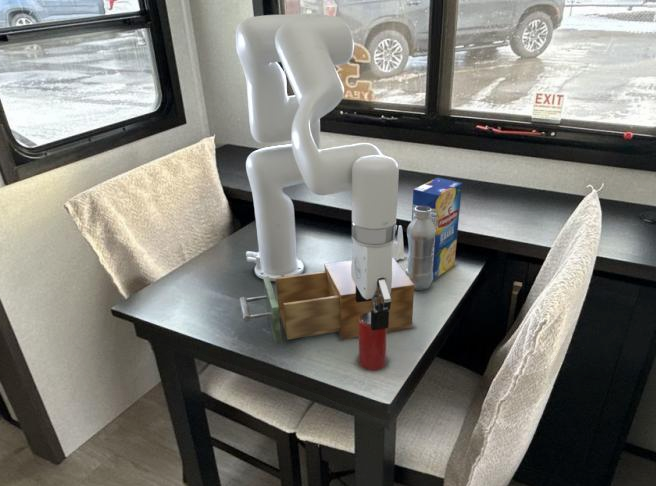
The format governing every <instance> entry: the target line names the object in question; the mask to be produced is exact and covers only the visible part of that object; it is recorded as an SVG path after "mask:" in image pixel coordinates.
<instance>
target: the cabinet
mask: <svg viewBox="0 0 656 486" xmlns="http://www.w3.org/2000/svg"><path fill="white" fill-rule="evenodd" d="M351 265H352V259H351V260H341V261H336V262H327V263H323V267H324V271H327V273H328V275H329V277H330V279H331V281H332V283H333V284H334V286H335V288H336V290H337V292H338V294H339V296H340V322H341V331H338V334H339V336H340V338H341V340H346V339H352V338H359V317H360V316H361V315H362V314H364V313H367V312H371V310H373V307H372V301H365V302H356V284H355V283H354V281H353V279H352V275H351ZM376 294H380V292H379V291H376V292H375V294H374V295H376ZM390 297H391V304H390V306H391V307H390V311H389V325H388V328H387V329H386V333H389V332H396V331H401V330H407V329H408V330H409V329H412V328H413V316H414V297H415V289H414V284H413V282H412V281H411V280H410V278H409V277H408V276H407V275H406V271H404V269H403V268H402V267H401V266H400V264H399V263H398V262H397V261H395V259H394V258H393V257H392V287H391V294H390ZM376 303H377V305H378V304H379V303H381V298H377V299H376Z"/></svg>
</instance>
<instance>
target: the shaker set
mask: <svg viewBox="0 0 656 486" xmlns="http://www.w3.org/2000/svg"><path fill="white" fill-rule="evenodd" d="M397 228H398V229H397ZM396 230H397V232H396V237H395V241H394V242H393V243H392V244H391V247H392V257H393V258H394V259H395V261H396V262H397V261H399V260H404V259H405V247H404V246H405V245H404V233H403V227H402V225H401V224H400V225H396Z"/></svg>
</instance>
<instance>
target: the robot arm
mask: <svg viewBox="0 0 656 486" xmlns="http://www.w3.org/2000/svg"><path fill="white" fill-rule="evenodd" d="M235 31H236V32H235V48H236V53H237V56H238V59H239V62H240V64H241V67H242V70H243V73H244V77H245V80H246V81H245V83H246V96H247V109H248V120H249V122H248V123H249V130H250V134H251V136H252V138H253V140H254V141H256V142H257V143H259V144H263V145H265V144H266V145H267V144H276V143H283V142H291V143H288V144H283V145H274V146H273V145H272V146H269V147H264V148H259V149H257V150H254V151H252V152H251V153H250V154H249V155H248V156H247V158H246V161H245V170H246V175H247V179H248V182H249V186H250V191H251V195H252V200H253V207H254V209H253V210H254V218H255V227H256V236H257V247H258V251H257V252H256V251H250V250H248V251H246V252H245V258H246V262H247V263H251V264H252V263H254V264H256V265H254V274H255V275H256V276H257V277H258V278H260V279H261V280H263V277H267V276H269V279H270V282H276V280H275V278H277V277H284V276H291V275H299V274H303V272H304V271H305V269H304V268H305V266H304V263H303V261H302V260H300V259H299V258H298V252H297V235H296V220H295V219H296V217H295V207H294V203H293V200H292V199H291V198H290V197H289V196H288V195H287V194H286V193H285V192H284V190H283V189H284V188H288V187H291V186H292V187H293V186H297V185H303V184H305V185H306V187H307V188H308V189H309V191H310V192H311V193H312V194H315V195H317V196H329V195H334V194H338V193H344V192H348V191H351V240H352V249H351V260H352V265H351V275H352V279H353V281H354V283H355V284H356V302H365V301H372V307H373V310H371V330H380V329H386V328H388V325H389V311H390V307H391V306H390V304H391V297H390V294H391V287H392V247H391V244H392V243H393V242H394V241H395V239H396V238H397V229H396V226H397V216H398V215H397V214H398V193H399V176H400V168H399V164H398V162H397V161H396V160H395V159H394V158H393V157H390V156H387V155H384V154H383V153H382V151H380V149H379V148H378V147H377V146H376V145H374V144H372V143H370V142H369V143H368V142H361V143H360V142H359V143H354V144H349V145H348V144H347V145H346V144H345V145H339V146H334V147H328V148H323V149H321V119H322V118H323V117H325V116H326V115H328V114H329V113H331V112H332V111H333V110H335V108H336V107H337V106H338V105H339V104H340V103H341V102H342V100H343V97H344V95H345V88H344V85H343V82H342V80H341V78H340V75H339V73H338V71H337V69H336V67H338V66H344V65H346V64H348V63H349V62H350V61H351V59H352V57H353V55H354V49H355V41H354V35H353V33H352V30H351V28H350V27H349V25H348V23H347V22H346V20H344V19H342V18H341V17H339V16H336V15H327V14H321V13H290V14H289V13H288V14H266V15H256V16H251V17H248V18H245V19H243V20H241V21H240V22H239V24H238V25H237V28H236V30H235ZM279 63H281V65H282V67H281V66H280V64H279ZM287 79H288V82H289V84H290V87H291V89H292V91H293V94H294V95H288V94H287V93H288V92H287V91H288V89H287ZM376 291H379V292H380V294H376V295H374V294H375V292H376ZM377 298H381V303H379V304H378V305H377V303H376V299H377Z"/></svg>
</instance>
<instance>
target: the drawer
mask: <svg viewBox="0 0 656 486" xmlns="http://www.w3.org/2000/svg"><path fill="white" fill-rule="evenodd" d="M262 280H263V289H264V295H261V296H254V297H245V296H241V297H239V304H240V309H241V314H242V318H243V319H242V320H243V321H244V322H246V323H247V322H250V321H251V320H252V319H253V320H254V319H260V318H268V321H269V326H270V329H271V333H272V336H273V340H274V343H275V345H281V344H282V333H281V324H282V327H283V330H284V334H285V336H286V340H293V339H299V338H306V337H311V336H313V337H314V336H318V335H323V334H331V333H337V332H338V331H341V322H340V296H339V294H338V292H337V290H336V288H335V286H334V284H333V283H332V281H331V279H330V277H329V275H328V273H327V271H325V270H322V271H321V270H320V271H315V272H307V273H301V274H299V275H291V276H284V277H277V278H275V280H276V281H275V291H276V294H275V292H274V288H273V285H272V281H270V279H269V276H267V277H263V279H262ZM264 300H265V308H266V312H261V313H256V314H250V309H249V305H248V303H249V302H257V301H264ZM338 333H339V332H338Z"/></svg>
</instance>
